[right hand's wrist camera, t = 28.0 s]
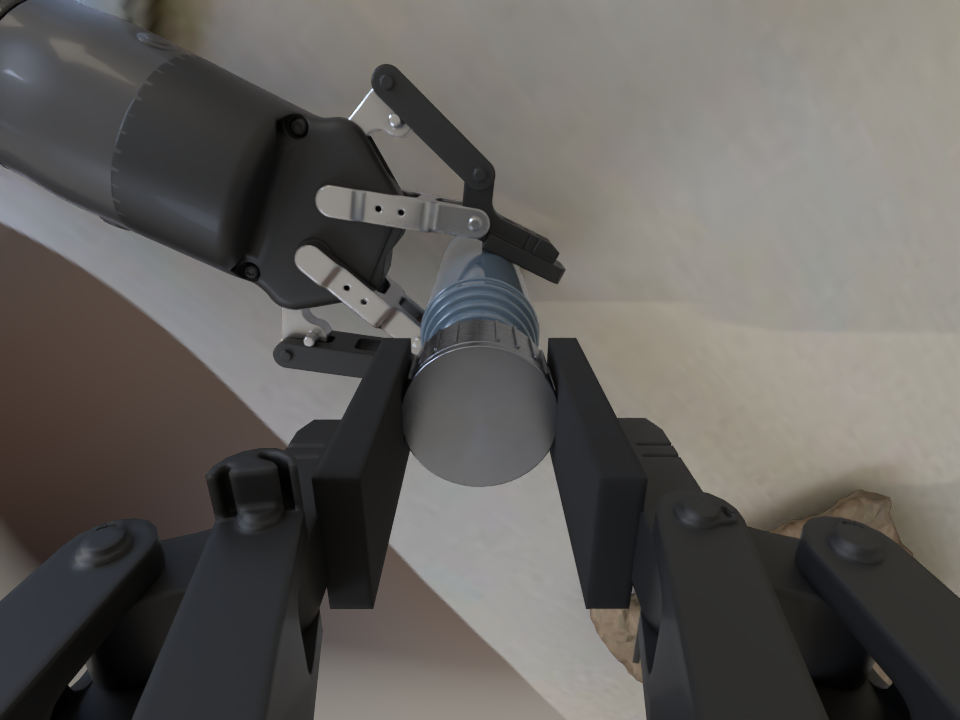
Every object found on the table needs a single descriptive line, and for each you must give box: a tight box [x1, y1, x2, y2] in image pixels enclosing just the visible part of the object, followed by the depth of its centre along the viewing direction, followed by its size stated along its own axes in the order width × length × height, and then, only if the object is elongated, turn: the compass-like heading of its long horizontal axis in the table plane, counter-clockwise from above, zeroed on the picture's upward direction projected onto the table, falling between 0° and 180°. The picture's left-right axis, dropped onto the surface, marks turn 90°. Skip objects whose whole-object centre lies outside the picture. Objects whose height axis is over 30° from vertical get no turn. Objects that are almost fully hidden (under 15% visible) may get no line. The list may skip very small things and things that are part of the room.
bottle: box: [420, 236, 539, 348], centre depth 21 cm, size 4×4×18 cm
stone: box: [590, 490, 913, 685], centre depth 36 cm, size 21×15×6 cm
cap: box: [402, 318, 558, 487], centre depth 14 cm, size 4×4×2 cm
